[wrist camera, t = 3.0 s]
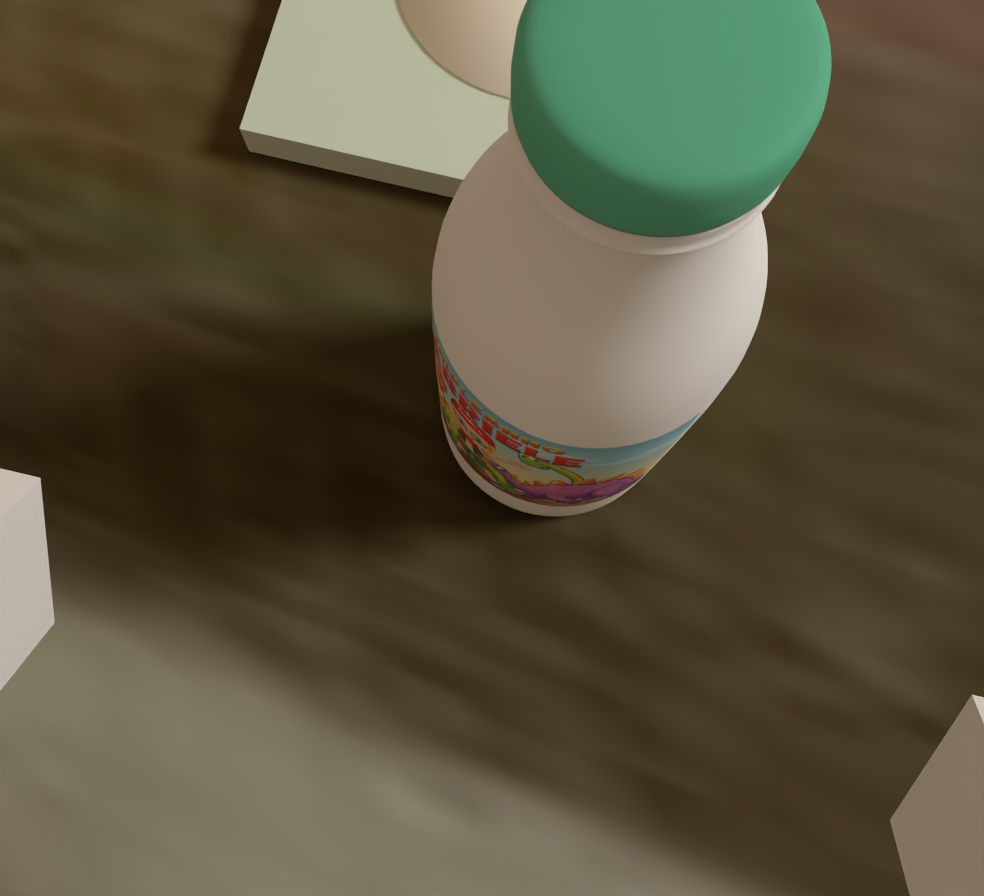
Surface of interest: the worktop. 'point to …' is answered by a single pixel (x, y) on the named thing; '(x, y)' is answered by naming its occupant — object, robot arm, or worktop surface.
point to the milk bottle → (616, 237)
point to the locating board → (385, 87)
